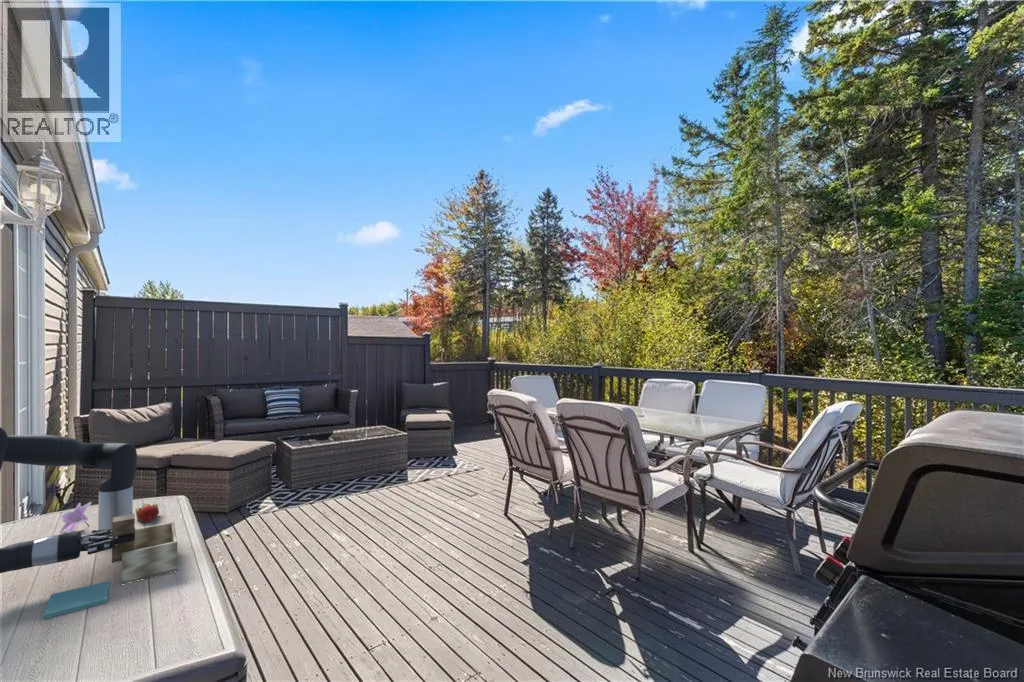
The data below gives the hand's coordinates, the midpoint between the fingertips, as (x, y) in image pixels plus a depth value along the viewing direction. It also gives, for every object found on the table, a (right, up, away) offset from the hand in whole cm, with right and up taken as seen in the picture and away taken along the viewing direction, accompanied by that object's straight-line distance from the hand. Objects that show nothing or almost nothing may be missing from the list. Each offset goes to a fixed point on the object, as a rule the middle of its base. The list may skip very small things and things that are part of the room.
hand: (134, 533), depth 140 cm
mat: (-1, -11, -17) cm, 20 cm away
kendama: (-30, -11, +42) cm, 52 cm away
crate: (+3, -11, +2) cm, 12 cm away
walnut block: (-2, -7, -2) cm, 7 cm away
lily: (-45, -11, +28) cm, 54 cm away
